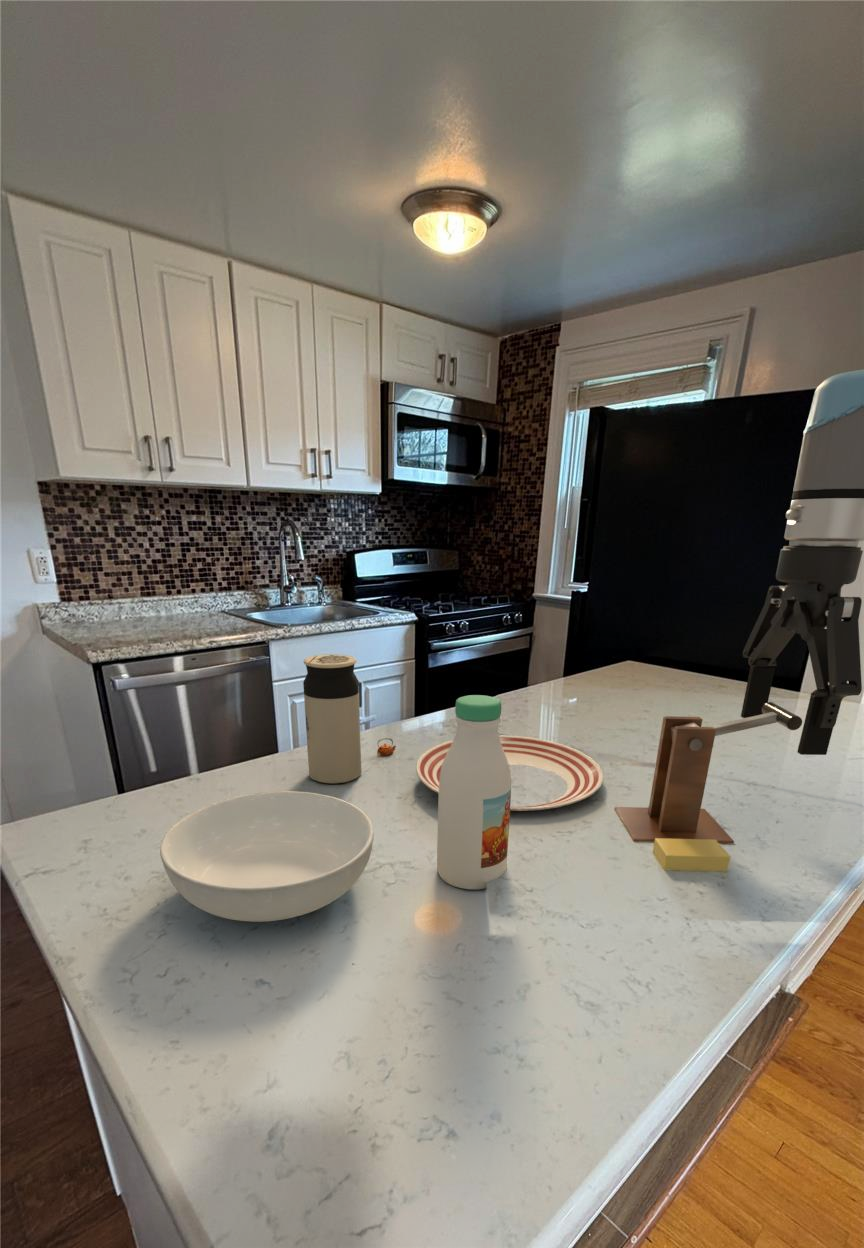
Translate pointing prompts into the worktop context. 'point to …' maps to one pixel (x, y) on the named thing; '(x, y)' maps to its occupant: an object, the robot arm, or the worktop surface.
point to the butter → (691, 854)
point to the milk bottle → (474, 798)
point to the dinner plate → (533, 752)
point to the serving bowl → (268, 854)
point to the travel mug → (332, 718)
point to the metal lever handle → (756, 720)
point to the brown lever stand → (677, 788)
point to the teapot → (385, 749)
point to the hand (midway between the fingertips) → (779, 734)
